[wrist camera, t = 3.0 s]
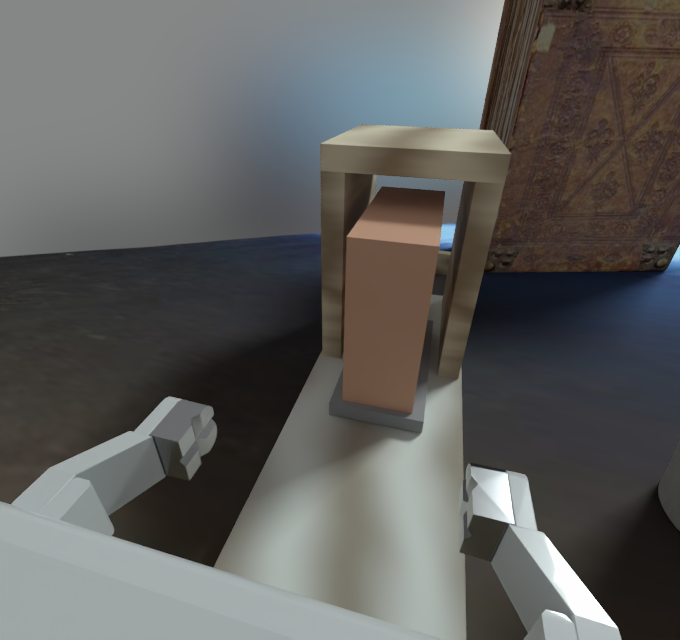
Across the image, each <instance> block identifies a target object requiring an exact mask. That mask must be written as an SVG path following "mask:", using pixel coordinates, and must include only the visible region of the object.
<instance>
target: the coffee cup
mask: <svg viewBox="0 0 680 640" xmlns="http://www.w3.org/2000/svg"><path fill="white" fill-rule="evenodd" d="M658 494H659V500H660V502H661V505H662V507H663V509H664V511H665V513H666V514H667V516H668V518H669V519H670V520H671V522H672V523H673V524H674V526H675V527H676V528H677V529H678V530H679V531H680V442H679V444H678V446H677V448H676V450H675V452H674V454H673V456H672V458H671V460H670V462H669V464H668V466H667V468H666V470H665V472H664V474H663V476H662V478H661V480H660V482H659V487H658Z"/></svg>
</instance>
